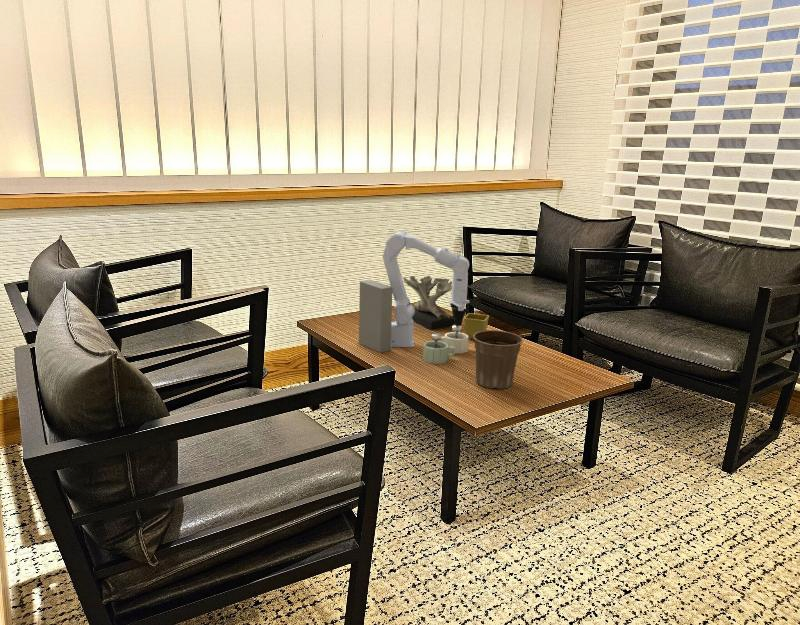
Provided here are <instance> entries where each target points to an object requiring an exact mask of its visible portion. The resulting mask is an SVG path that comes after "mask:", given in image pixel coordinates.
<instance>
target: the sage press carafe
mask: <svg viewBox="0 0 800 625" xmlns="http://www.w3.org/2000/svg"><path fill="white" fill-rule="evenodd" d="M422 345H423V346H422V347H423V348H422V360H423V361H424V362H426V363H430V364H438V365H439V364H444V363H446V362H448V361H449V360H448V359H449V358H454V357H455V356H456V355H455V354H456V353H455V347H449V346H448V344H447V343H445V342H444V341H441V342H440V341H438V342H437V345H439V346H442V347H444V348H430V347H428V346H431V345H435V340H430V341H429V340H428V341H425V342H424V343H423V344H422ZM448 350H452V353H449V352H448Z"/></svg>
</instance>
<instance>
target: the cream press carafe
mask: <svg viewBox="0 0 800 625" xmlns="http://www.w3.org/2000/svg"><path fill="white" fill-rule="evenodd" d="M451 336H455V331H451V332H447V333H445V334H444V336H441V340H438V341H440V342H442V341H443V342H445V343H447V344H448V346H449V347H455V354H465V353H466V352H468V350H469V339H470V338H469V337H468V335H466V333H464V332H460V331H458V336H459V337H463V339H453V338H449V337H451ZM448 353H449V354H451V353H452V350H448Z"/></svg>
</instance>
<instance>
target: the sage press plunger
mask: <svg viewBox="0 0 800 625" xmlns="http://www.w3.org/2000/svg"><path fill="white" fill-rule="evenodd" d="M441 337H442V334H441V333H438V332H434V333H431V341H435V345H431V346H428V347H430V348H444V347H442V346H439V345H437V342H438V340H441ZM441 341H442V340H441Z"/></svg>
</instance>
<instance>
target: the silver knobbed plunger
mask: <svg viewBox="0 0 800 625" xmlns="http://www.w3.org/2000/svg"><path fill="white" fill-rule="evenodd" d="M451 328H452V329H451V330H452V332H455V336H451V337H449V338H453V339H463V337H459V336H458V332H462V330H463V329H462V328H463V326H462V325H461V326H455V325H453V326H452V327H451Z"/></svg>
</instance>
